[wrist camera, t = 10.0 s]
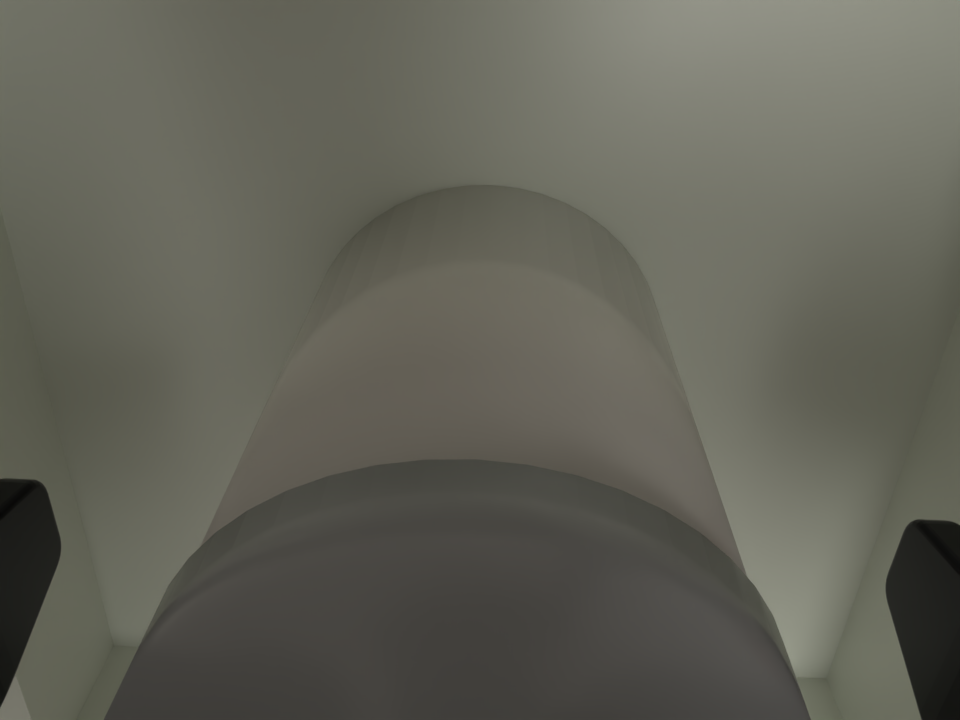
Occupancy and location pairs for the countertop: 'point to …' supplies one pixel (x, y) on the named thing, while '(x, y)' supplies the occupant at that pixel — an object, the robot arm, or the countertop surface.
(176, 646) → the cylinder
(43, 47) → the sage tray
